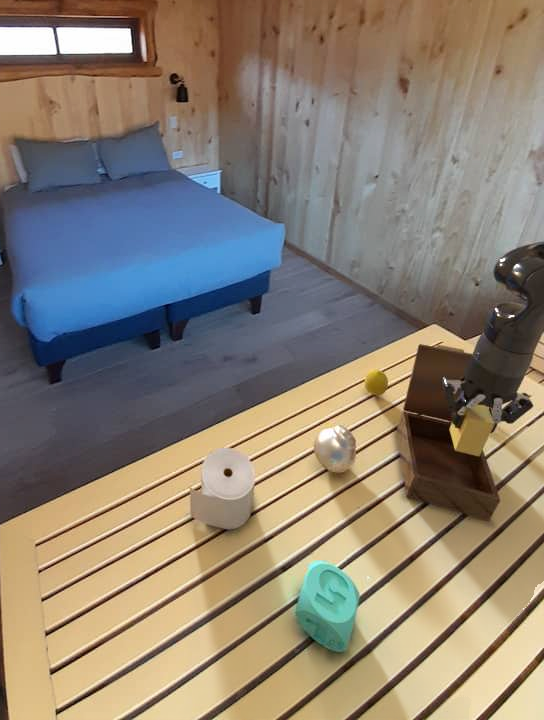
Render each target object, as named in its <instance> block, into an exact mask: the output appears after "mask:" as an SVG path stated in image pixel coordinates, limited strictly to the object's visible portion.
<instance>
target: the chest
mask: <svg viewBox="0 0 544 720" xmlns="http://www.w3.org/2000/svg"><path fill="white" fill-rule="evenodd" d="M451 424H452V422H450V421H446V420H442V419H437V418H433V417H429V416H424V415H420V414H416V413H412V412H407V411H404V410H403V411H402V413H401V416H400V419H399V422H398V424H397V429H396V436H397V443H398V449H399V457H400V465H401V471H402V479H403V485H404V491H405V497H406V498H408V499H412V500H415V501H418V502H421V503H425V504H429V505H431V506H435V507H438V508H442V509H445V510H449V511H452V512H455V513H459V514H463V515H466V516H469V517H472V518H475V519H479V520H483V521H487V522H490V520H491V518H492V516H493V515H494V513H495V511H496V509H497V507H498V506H499V504H500V503H501V499H500V496H499V493H498V489H497V486H496V484H495V480H494V478H493V475H492V472H491V470H490V466H489V463H488V460H487V457H486V454H485V452H484V449H483V450H482V452H481V454H480V456H475V455H471V454H467V453H463V452H459V451H455V448H454V444H453V441H452V437H451V433H450V430H449V429H450V426H451Z"/></svg>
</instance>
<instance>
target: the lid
mask: <svg viewBox="0 0 544 720" xmlns="http://www.w3.org/2000/svg"><path fill="white" fill-rule="evenodd" d="M472 354H473V353H469V352H465V349H463V348H458V347H453V346H447V345H443V344H442V345H441V344H437V346H432V345H427V344H421V343H418V346H417V349H416V354H415V357H414V361H413V362H414V363H413V366H412V370H411V375H410V378H409V383H408V387H407V390H406V395H405V399H404V402H403V408H402V410H403V411H405V412H409V413H413V414H417V415H422V416H426V417H430V418H434V419H439V420H443V421H447V422H451V423H452V419H451V415H452V412H453V411H451V410H448V408H447V403H446V401H445V396H444V389H443V382H442V378H443V377H448V378H449V379H450V380H460V378H461V377H463V376H464V375H465V373H466V369H467V367H468V364H469V362H470V359H471V356H472ZM462 391H463V390H462V388H461V387H460V388H458V389H457V391H456V393H455V394H454V393H453V396H454V400H455V401H456V400H457V399H458V398H459V397H460V393H461V392H462Z"/></svg>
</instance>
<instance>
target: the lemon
mask: <svg viewBox="0 0 544 720" xmlns="http://www.w3.org/2000/svg"><path fill="white" fill-rule="evenodd" d="M388 385H389V379H388V377H387V374H386V373H385V372H384V371H382V370H380V369H372V370H370V371H368V373H366V375H365V378H364V386H365V389H366V391H367V392H368V393H369V394H371V395H373V396H382V395H383V394H384V393H386V391H387V390H388V388H389V387H388Z"/></svg>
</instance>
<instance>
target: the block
mask: <svg viewBox="0 0 544 720" xmlns="http://www.w3.org/2000/svg"><path fill="white" fill-rule="evenodd" d="M451 423H452V422H451ZM493 427H494V421H493V419H492V416H491V414H490V411H489V407H487V406H484V405H476V406H475V407H474V408H473V409H472V410H471V409H470V410H469V411H468V412H467V413H466V414H465V418H464V420H463V423H462V425H461V427H460V429H459V428H455V425H453V423H452V424H451V426H450V429H449V430H450V433H451V437H452V441H453V444H454V448H455V451H459V452H463V453H467V454H471V455H475V456H480V454H481V452H482V450H483V451H484V447H485V445H486V443H487V441H488V439H489V437H490V436H491V434H492V433H491V431H492V429H493Z"/></svg>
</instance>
